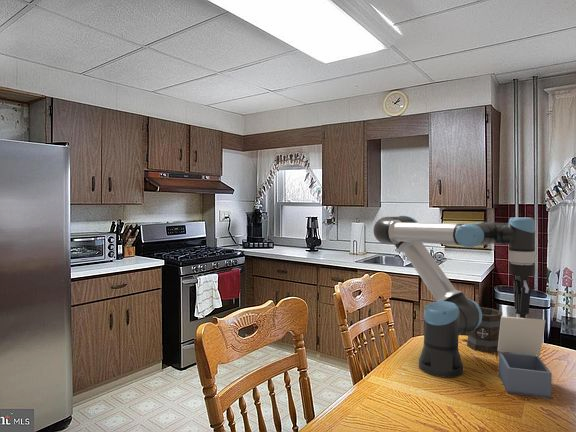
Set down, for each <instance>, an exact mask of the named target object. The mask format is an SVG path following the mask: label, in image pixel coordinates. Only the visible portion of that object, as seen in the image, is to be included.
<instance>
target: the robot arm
mask: <svg viewBox="0 0 576 432" xmlns="http://www.w3.org/2000/svg"><path fill="white" fill-rule="evenodd" d="M536 232H537V231H536V222H535V219H534V218H532V217H525V216H524V217H519V216H518V217H517V216H515V217H509V219H508V222H489V221H481V222H475V223H453V222H452V223H447V222H446V223H444V222H419V221H418V220H417V219H415V218H414V217H412V216H407V215H397V216H383V217H381V218H379V219H378V220H377V221H375V223H374V226H373V234H374V238H375V239H376V240H377V241H378V242H379V243H381V244H383V245H394V246H395V248H396V250H397V251H398V252H399V253H400V252H401V253H404V255H405V256H406V258H407V259H408V261H409V262H410V263H411V265H412V267H413V268H414V269H415V271H416V272H417V274H418V275H419V277H420V279H421V280H422V282H423V283H424V285H425V286H426V287H427V289H428V291H429V292H430V294H432V297H433V298H434V299H435V301H432V302H429V303H427V304H426V305H425V307H424V313H423V347H422V349H421V353H420V355H419V357H418V368H419V369H420V370H421V371H423V372H424V373H427V374H429V375H431V376H434V377H441V378H457V377H459V376H462V375H463V374H464V363H463V360H462V356H461V355H460V351H459V336H463V335H462V334H464V333H467V332H471V331H473V330H474V329H476V328H477V327H478V326H479V325H480V324H481V321H482V311H481V309H480V307H481V306H479V304H478V302H476V301H474V300H473V299H470V298H468V297H466V295H465V294H464V292H463V291H462V290H457V289H456V288H455V286H454V285H453V284H452V282H451V281H450V280H449V278H448V277H447V276H446V274H445V273H444V271H443V270H442V268H441V267H440V265H439V263H437V261H436V260H435V259H434V257H433V256H432V255H431V254H432V253H430V252H429V250H428V249H427V248H426V245H425V244H435V245H436V244H437V245H438V244H439V245H455V246H462V247H467V248H474V247H479V246H483V245H485V246H486V245H508V261H509V264H508V273H509V275H512V276H515V277H514V279H513V280H512V285H513V300H514V309H515V315H516V317H518V318H528V317H527V316H528V315H529V313H530V306H531V305H530V304H531V295H532V294H531V293H532V287H530V286H531V282H530V280H529V277H533V276H535V275H536V266H535V264H534V263H535V262H536V257H537V253H536Z"/></svg>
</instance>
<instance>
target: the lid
mask: <svg viewBox="0 0 576 432" xmlns="http://www.w3.org/2000/svg"><path fill="white" fill-rule="evenodd" d="M545 325H546V319H541V318H540V319H539V318H528V317H527V318H518V317H517V316H516V317H515V316H505V315H504V316H503V315H502V316H501V322H500V331H499V340H498V351H500V352H504V353H506V352H509V353H519V354H528V355H536V356H541V351H542V346H543V345H542V344H543V340H544V339H543V338H544V334H545V333H544V332H545Z"/></svg>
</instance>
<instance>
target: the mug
mask: <svg viewBox="0 0 576 432" xmlns="http://www.w3.org/2000/svg"><path fill="white" fill-rule="evenodd" d="M479 307H480V309H481V311H482V321H481V324H480V325H479V326H478V327H477V328H476V329H474V330H473V331H471V332H467V333H464V334H462V335H461V336H466V337H467V342H466V347H468V348H470V349H471V350H473V351H475V352H480V353H486V354H496V353H499V352H500V351H498V340H499V331H500V322H501V316H503V311H501V310H497V309H495V308H491V307H490V308H489V307H483V306H479Z"/></svg>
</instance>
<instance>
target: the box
mask: <svg viewBox="0 0 576 432" xmlns="http://www.w3.org/2000/svg"><path fill="white" fill-rule="evenodd" d="M497 374H498V377H499V379H500V380H501V383H502V386H503V388H504V389H505V391H506V394H511V395H512V394H513V395H519V396H520V395H521V396H527V397H534V398H541V399H548V400H549V399H550V400H552V383H553V382H552V378H553V377H552V376H553V375H552V372H551V371H550V369H549V367H548V366H546V364H545V363H544V362H543V360H542V359H541V358H540V357H539V356H538V355H536V356H532V355H523V354H513V353H506V352H498V373H497Z"/></svg>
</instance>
